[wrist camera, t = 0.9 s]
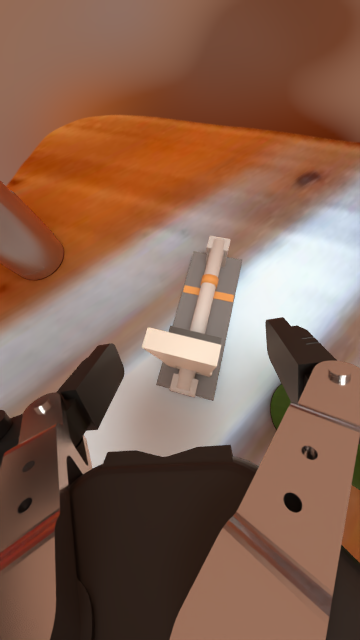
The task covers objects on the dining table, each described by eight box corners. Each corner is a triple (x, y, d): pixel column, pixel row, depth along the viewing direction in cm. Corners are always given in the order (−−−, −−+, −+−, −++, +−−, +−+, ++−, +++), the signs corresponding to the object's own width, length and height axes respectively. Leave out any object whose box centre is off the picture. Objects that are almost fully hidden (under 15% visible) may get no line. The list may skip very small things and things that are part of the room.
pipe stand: (212, 400, 29) (216, 403, 23) (157, 384, 30) (148, 384, 24) (240, 263, 35) (249, 239, 29) (193, 255, 36) (193, 230, 30)
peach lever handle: (210, 377, 28) (224, 368, 13) (167, 366, 29) (134, 345, 14) (217, 347, 29) (237, 306, 14) (175, 337, 30) (152, 288, 15)
